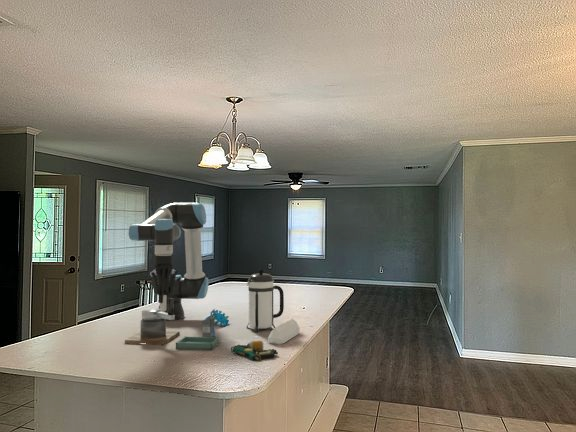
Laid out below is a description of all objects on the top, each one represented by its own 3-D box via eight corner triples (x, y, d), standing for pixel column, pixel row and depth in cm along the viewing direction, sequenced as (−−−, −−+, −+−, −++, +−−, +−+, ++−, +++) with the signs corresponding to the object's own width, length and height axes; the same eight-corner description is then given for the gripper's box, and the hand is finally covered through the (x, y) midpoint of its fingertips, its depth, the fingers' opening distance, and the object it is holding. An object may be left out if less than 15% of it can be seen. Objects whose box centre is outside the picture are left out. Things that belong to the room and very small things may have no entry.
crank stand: (143, 333, 207) (143, 315, 207) (179, 334, 204) (179, 316, 205) (124, 343, 189) (124, 323, 189) (164, 344, 187) (164, 325, 187)
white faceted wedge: (285, 337, 185) (305, 325, 207) (272, 327, 187) (292, 316, 209) (277, 351, 186) (297, 338, 208) (264, 341, 188) (285, 329, 211)
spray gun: (280, 360, 169) (244, 367, 162) (262, 347, 183) (229, 353, 176) (280, 349, 168) (244, 356, 161) (262, 337, 183) (229, 342, 176)
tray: (184, 342, 191) (184, 336, 191) (219, 343, 189) (219, 337, 189) (175, 348, 180) (175, 342, 181) (212, 350, 179) (212, 344, 179)
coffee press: (271, 334, 205) (271, 270, 206) (240, 331, 211) (240, 269, 211) (284, 326, 221) (284, 267, 222) (255, 323, 227) (255, 266, 228)
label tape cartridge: (206, 334, 204) (206, 308, 204) (214, 334, 204) (214, 308, 204) (202, 339, 195) (202, 312, 196) (210, 339, 195) (210, 312, 195)
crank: (137, 319, 196) (137, 295, 197) (157, 316, 204) (157, 292, 204) (162, 326, 183) (162, 300, 183) (182, 322, 190) (182, 297, 190)
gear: (219, 325, 217) (210, 309, 222) (212, 332, 219) (204, 316, 224) (234, 324, 226) (225, 308, 231) (227, 331, 228) (219, 315, 233)
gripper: (155, 255, 179) (154, 313, 178) (181, 254, 189) (181, 309, 188) (145, 255, 184) (144, 311, 183) (171, 254, 193) (171, 307, 193)
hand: (163, 310), depth 185 cm, fingers closed
